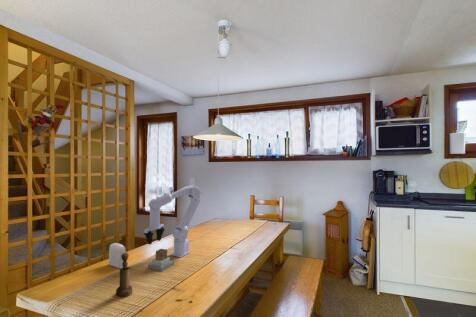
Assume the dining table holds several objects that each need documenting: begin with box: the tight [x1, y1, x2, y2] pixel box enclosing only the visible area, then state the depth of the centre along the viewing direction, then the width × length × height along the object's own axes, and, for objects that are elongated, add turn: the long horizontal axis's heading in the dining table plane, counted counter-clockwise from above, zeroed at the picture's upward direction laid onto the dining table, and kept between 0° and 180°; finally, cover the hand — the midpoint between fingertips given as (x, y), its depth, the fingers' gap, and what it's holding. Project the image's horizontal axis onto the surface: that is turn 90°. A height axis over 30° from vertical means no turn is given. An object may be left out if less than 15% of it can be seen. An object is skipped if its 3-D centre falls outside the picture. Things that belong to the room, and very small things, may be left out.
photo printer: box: [108, 242, 126, 269], centre depth 145 cm, size 10×4×12 cm, turn 60°
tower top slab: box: [151, 256, 171, 267], centre depth 146 cm, size 7×7×2 cm
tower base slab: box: [147, 260, 175, 272], centre depth 146 cm, size 10×10×2 cm
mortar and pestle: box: [115, 252, 133, 298], centre depth 115 cm, size 7×6×18 cm
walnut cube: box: [155, 248, 168, 260], centre depth 146 cm, size 4×4×4 cm
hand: (154, 242), depth 155 cm, fingers open, 7 cm apart
